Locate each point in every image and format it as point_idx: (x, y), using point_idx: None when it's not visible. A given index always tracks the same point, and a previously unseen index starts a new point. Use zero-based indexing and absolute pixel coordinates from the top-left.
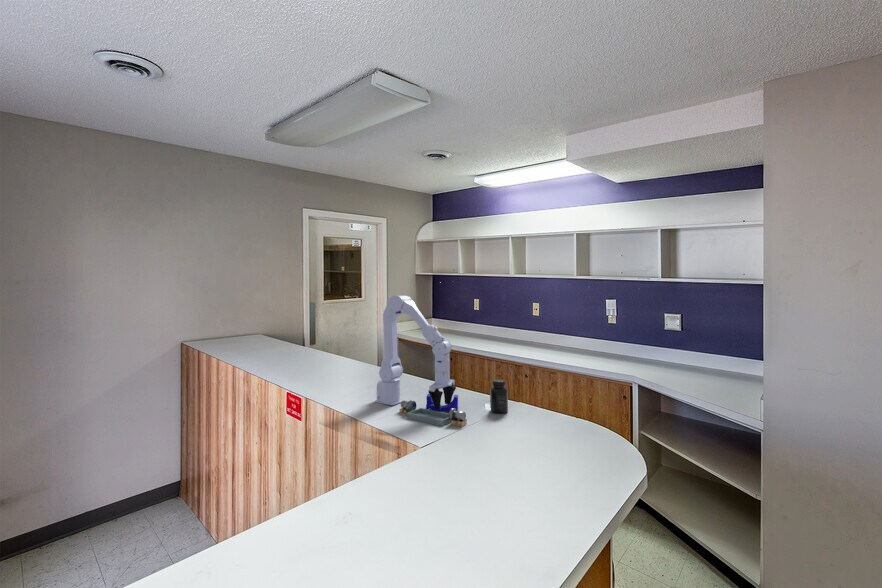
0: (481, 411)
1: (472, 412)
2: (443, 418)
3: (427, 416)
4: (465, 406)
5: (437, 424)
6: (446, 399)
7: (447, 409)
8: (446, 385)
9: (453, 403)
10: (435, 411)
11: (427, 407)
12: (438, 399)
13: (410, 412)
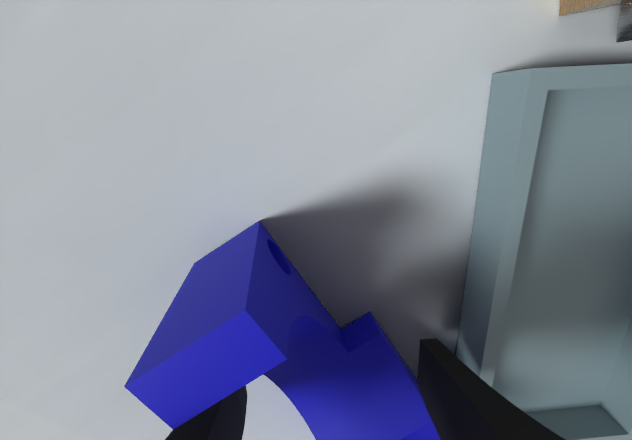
0: (9, 18)
1: (135, 92)
2: (535, 190)
3: (538, 326)
4: (29, 284)
5: None
6: (235, 434)
7: (316, 308)
8: None
9: (286, 298)
10: (503, 321)
11: None
12: (537, 426)
13: (611, 434)
